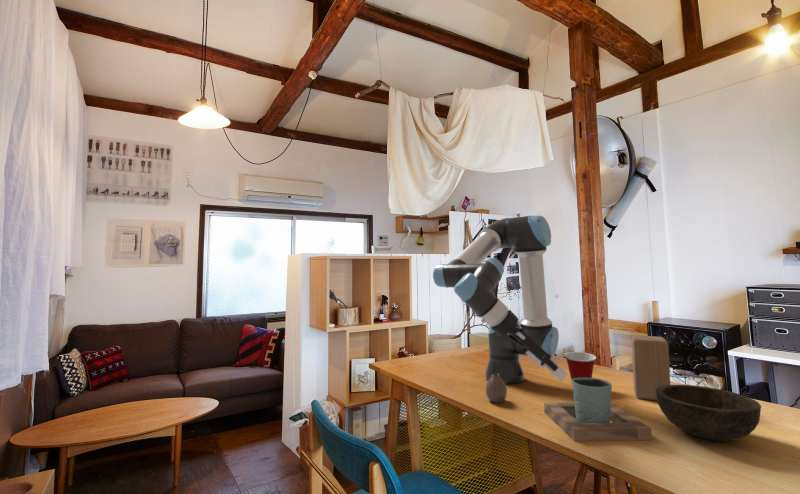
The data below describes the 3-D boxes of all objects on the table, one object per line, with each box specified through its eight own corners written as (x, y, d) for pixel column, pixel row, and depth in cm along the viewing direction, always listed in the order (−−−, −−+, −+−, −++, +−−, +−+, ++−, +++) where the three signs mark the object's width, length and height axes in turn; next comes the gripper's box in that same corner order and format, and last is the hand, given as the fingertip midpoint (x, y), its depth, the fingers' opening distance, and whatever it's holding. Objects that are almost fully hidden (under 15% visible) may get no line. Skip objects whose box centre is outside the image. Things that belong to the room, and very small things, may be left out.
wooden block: (635, 399, 130) (632, 339, 131) (633, 390, 139) (631, 334, 140) (671, 403, 125) (668, 341, 127) (667, 394, 134) (664, 336, 135)
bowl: (786, 447, 94) (783, 405, 94) (722, 461, 88) (719, 416, 88) (695, 415, 115) (693, 381, 115) (638, 425, 108) (636, 388, 109)
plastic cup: (565, 390, 140) (564, 357, 141) (565, 382, 150) (564, 351, 151) (599, 393, 136) (597, 359, 137) (596, 385, 146) (594, 353, 147)
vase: (493, 396, 135) (492, 370, 135) (510, 400, 130) (510, 374, 130) (481, 401, 130) (481, 374, 130) (500, 406, 125) (499, 378, 125)
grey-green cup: (570, 427, 108) (568, 383, 108) (577, 415, 116) (575, 375, 117) (611, 435, 102) (609, 389, 103) (615, 422, 110) (613, 380, 111)
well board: (544, 412, 119) (544, 402, 119) (608, 411, 119) (608, 401, 119) (574, 440, 99) (573, 428, 99) (651, 439, 99) (650, 427, 99)
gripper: (481, 322, 123) (529, 369, 122) (502, 334, 98) (563, 394, 97) (497, 305, 123) (545, 352, 122) (522, 313, 98) (583, 372, 97)
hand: (553, 370), depth 110 cm, fingers open, 13 cm apart
